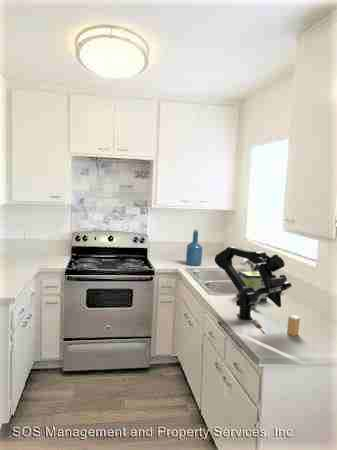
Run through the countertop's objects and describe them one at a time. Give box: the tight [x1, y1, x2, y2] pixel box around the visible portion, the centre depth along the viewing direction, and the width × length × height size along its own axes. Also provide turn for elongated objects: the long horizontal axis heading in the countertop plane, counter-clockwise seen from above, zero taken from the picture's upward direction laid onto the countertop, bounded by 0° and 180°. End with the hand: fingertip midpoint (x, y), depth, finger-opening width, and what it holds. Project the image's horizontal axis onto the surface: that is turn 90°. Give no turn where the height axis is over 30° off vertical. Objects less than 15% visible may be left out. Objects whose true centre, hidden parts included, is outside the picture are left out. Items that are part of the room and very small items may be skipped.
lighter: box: [251, 296, 262, 310], centre depth 201 cm, size 7×2×8 cm, turn 55°
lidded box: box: [286, 314, 301, 337], centre depth 164 cm, size 4×4×8 cm
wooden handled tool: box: [251, 319, 266, 335], centre depth 170 cm, size 14×2×2 cm, turn 5°
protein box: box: [236, 271, 268, 302], centre depth 220 cm, size 10×16×16 cm
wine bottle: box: [185, 229, 203, 267], centre depth 308 cm, size 14×13×30 cm
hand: (280, 306), depth 169 cm, fingers closed
